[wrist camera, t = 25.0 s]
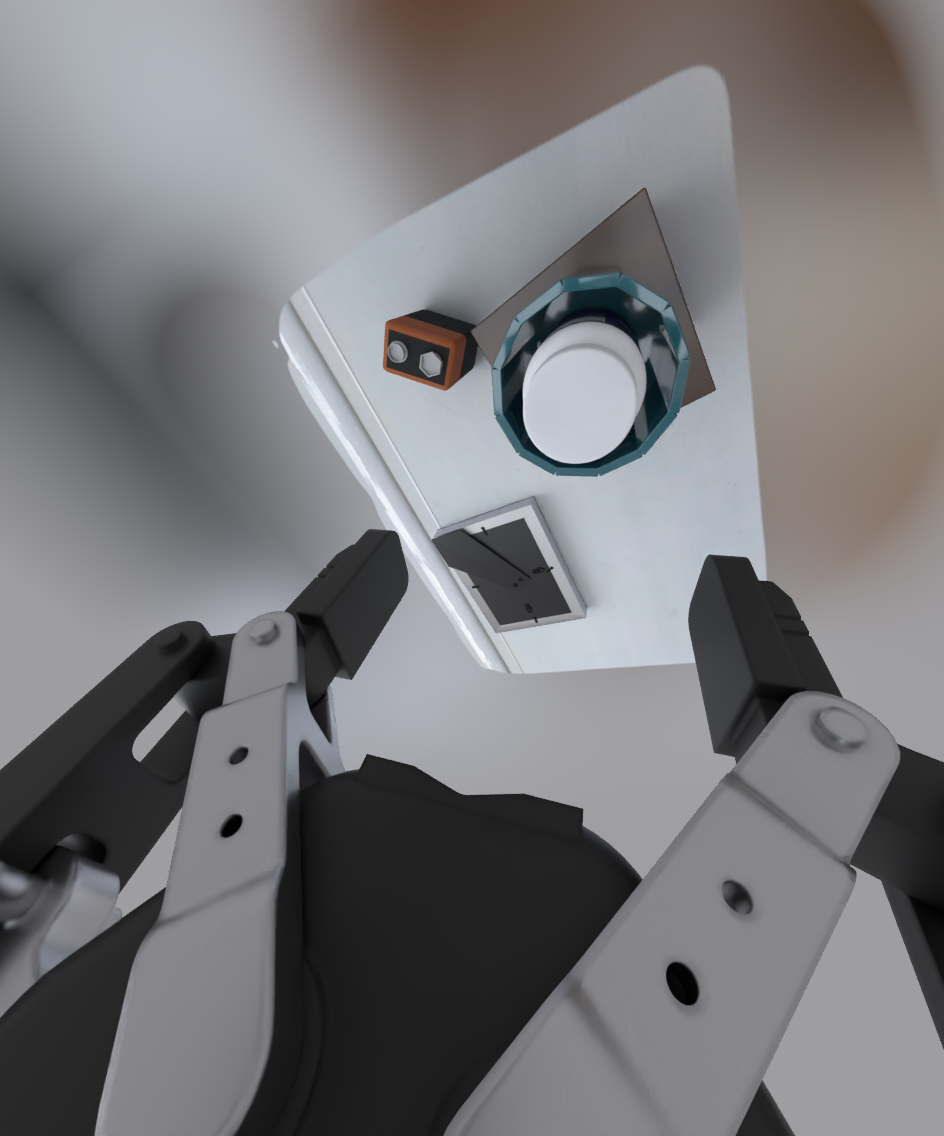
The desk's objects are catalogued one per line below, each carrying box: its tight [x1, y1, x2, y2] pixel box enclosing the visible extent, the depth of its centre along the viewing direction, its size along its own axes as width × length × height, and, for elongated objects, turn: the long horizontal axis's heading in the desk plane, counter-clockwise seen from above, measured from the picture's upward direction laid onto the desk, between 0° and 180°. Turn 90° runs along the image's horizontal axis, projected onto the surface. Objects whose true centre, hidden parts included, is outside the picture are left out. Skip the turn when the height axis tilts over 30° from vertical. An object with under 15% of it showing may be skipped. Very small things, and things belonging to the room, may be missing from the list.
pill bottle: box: [523, 307, 646, 464], centre depth 20 cm, size 6×6×10 cm
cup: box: [492, 267, 691, 477], centre depth 21 cm, size 9×9×7 cm
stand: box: [471, 188, 716, 408], centre depth 31 cm, size 11×11×18 cm
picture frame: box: [432, 497, 587, 633], centre depth 58 cm, size 16×3×21 cm
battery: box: [383, 310, 478, 390], centre depth 38 cm, size 4×7×10 cm, turn 77°
